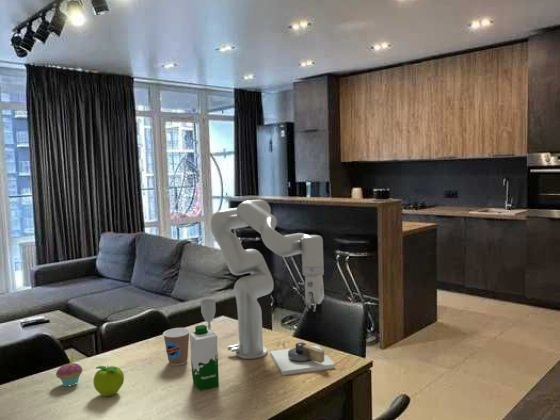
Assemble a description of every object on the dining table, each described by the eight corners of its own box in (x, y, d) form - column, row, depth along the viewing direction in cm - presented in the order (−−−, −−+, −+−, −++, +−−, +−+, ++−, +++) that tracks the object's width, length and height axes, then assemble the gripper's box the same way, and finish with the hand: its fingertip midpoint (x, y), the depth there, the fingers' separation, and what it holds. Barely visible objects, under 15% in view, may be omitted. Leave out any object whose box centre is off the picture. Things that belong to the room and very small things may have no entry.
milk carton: (213, 377, 170) (210, 322, 169) (222, 386, 162) (219, 329, 161) (189, 382, 166) (186, 327, 165) (197, 393, 158) (194, 334, 157)
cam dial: (282, 357, 181) (282, 344, 181) (300, 350, 188) (300, 337, 188) (313, 369, 170) (313, 355, 169) (331, 360, 176) (331, 347, 176)
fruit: (107, 403, 153) (105, 373, 153) (89, 396, 158) (87, 367, 158) (130, 391, 161) (128, 363, 160) (112, 385, 166) (110, 358, 165)
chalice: (219, 338, 210) (217, 298, 209) (216, 343, 203) (214, 302, 202) (203, 338, 211) (201, 298, 209) (199, 344, 204) (197, 303, 203)
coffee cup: (159, 365, 183) (157, 335, 182) (174, 355, 192) (173, 326, 191) (181, 368, 179) (180, 337, 178) (196, 358, 188) (194, 328, 187)
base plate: (282, 375, 169) (281, 370, 169) (270, 354, 189) (270, 350, 188) (334, 368, 174) (334, 363, 174) (318, 348, 193) (318, 344, 193)
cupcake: (88, 380, 172) (86, 348, 171) (71, 390, 164) (68, 357, 163) (69, 377, 175) (67, 346, 174) (51, 387, 166) (48, 354, 166)
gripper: (318, 275, 157) (320, 326, 159) (328, 265, 174) (329, 311, 175) (296, 275, 160) (298, 325, 161) (308, 265, 176) (310, 310, 178)
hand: (314, 317), depth 168 cm, fingers open, 8 cm apart
